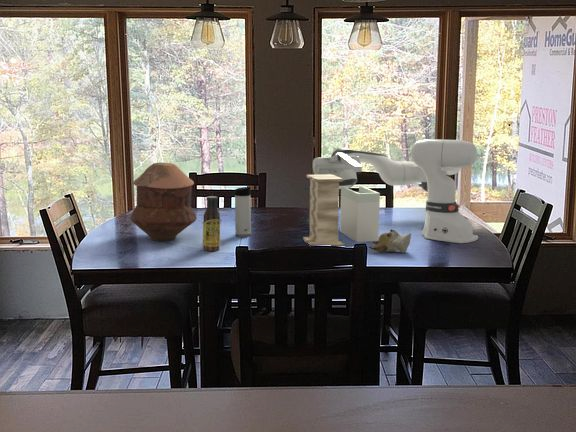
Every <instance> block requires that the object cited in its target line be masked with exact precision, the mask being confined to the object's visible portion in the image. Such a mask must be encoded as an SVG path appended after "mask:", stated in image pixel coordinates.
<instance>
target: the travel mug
mask: <svg viewBox="0 0 576 432" xmlns="http://www.w3.org/2000/svg"><path fill="white" fill-rule="evenodd" d="M251 190H252V186H245V187H238V188H235V189H234V215H235V216H234V221H235V222H234V224H235V227H234V228H235V229H234V232H235V236H236V237H237V238H248V237H251V235H252V230H251V229H252V221H251V219H252V217H251V213H252V212H251V211H252V210H251V209H252V208H251V207H252V204H251V203H252V201H251V200H252V199H251Z"/></svg>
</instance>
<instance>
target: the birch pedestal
mask: <svg viewBox="0 0 576 432" xmlns="http://www.w3.org/2000/svg"><path fill="white" fill-rule="evenodd" d="M306 178H308V179H309V235H308V236H302V240H304V242H305V244H307V243H308V244H310V245H331V246H345V247H346V244H345V243H343V242H342V241H341V240H339V213H340V212H339V209H340V207H339V206H340V203H339V201H340V196H339V195H340V190H339V182H341V181H343V179H342V178H340V177H337V176H335V175H332V174H316V175H314V174H306ZM308 244H307V245H308ZM310 245H309V246H310Z"/></svg>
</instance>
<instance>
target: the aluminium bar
mask: <svg viewBox="0 0 576 432" xmlns="http://www.w3.org/2000/svg"><path fill="white" fill-rule="evenodd" d="M336 154H338V156H339V158H338V161H340V162H341V163H343V164H344V165H345V166H347V167H348V168H349V169H351V170H352V171H353V172H356V173H362V170H363V166H362V164H358V163H357V162H356V161H354V160H353V159H351V158H350V157H348V156H347V155H345V154H344V153H336Z"/></svg>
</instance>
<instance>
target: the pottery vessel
mask: <svg viewBox="0 0 576 432" xmlns="http://www.w3.org/2000/svg"><path fill="white" fill-rule="evenodd" d="M132 184H133V185H134V186H135V187H136V205H135V207H134V209H133V210H132V212H131V215H130V221H131V222H132V223H133V224H134V225H135V226H137V227H138V228H139V229H140V230H141V231H143V232H144V233H145V234H146V235H147V236H148V237H150V239H151V240H153V241H157V242H166V241H168V242H169V241H173V240H175V239H176V238H177V236H178V235H179V234H180V233H182V232H183V231H184V230H185V229H187V228H188V227H189V226H190V225H192V224H193V223H195V222H196V221H197V215H196V212H195V210H194V209H193V208H192V206H191V203H192V202H191V200H192V199H191V198H192V186H194V184H195V182H194V180H193V179H191V178H190V177H189V176H188V175H187V174H186V173H185V172H184V171H183V170H181V169H180V168H179V166H177V165H176V164H174V163H173V162H172V163H170V162H153V163H152V164H150V165H149V166H148V167H147V168H146V169H145V170H144V172H143V173H141V175H140V176H139V177H137V178H135V179H134V180H133V181H132Z"/></svg>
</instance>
